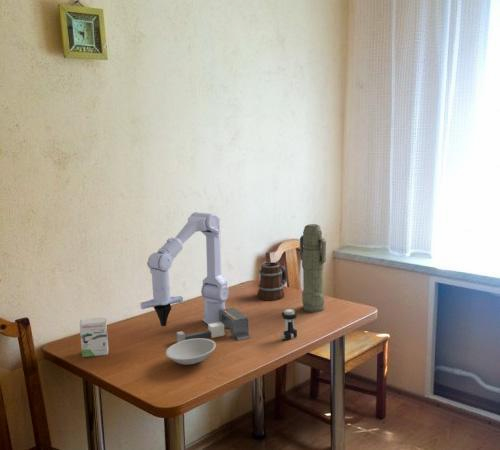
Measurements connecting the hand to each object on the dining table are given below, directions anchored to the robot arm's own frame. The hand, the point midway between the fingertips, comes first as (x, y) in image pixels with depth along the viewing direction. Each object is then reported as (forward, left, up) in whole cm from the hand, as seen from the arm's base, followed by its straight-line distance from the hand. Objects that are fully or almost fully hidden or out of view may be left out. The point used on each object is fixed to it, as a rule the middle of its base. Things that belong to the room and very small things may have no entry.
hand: (163, 325), depth 178 cm
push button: (+16, +41, -8) cm, 44 cm away
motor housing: (0, +27, -7) cm, 28 cm away
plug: (0, +14, -8) cm, 15 cm away
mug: (-30, +61, -8) cm, 68 cm away
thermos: (-6, +66, -8) cm, 66 cm away
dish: (+18, +4, -8) cm, 20 cm away
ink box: (-6, -22, -8) cm, 24 cm away
